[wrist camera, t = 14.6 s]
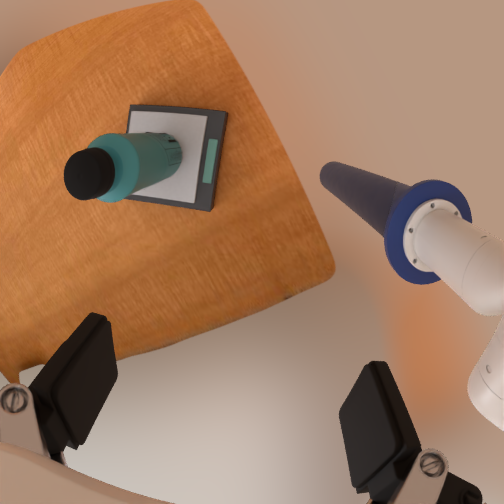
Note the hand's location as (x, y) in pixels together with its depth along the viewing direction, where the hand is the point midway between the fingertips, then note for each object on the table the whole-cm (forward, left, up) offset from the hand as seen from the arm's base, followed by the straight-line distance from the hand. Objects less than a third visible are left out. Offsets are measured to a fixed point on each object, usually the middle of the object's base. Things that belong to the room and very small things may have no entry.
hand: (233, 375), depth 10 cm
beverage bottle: (+13, -4, -31) cm, 34 cm away
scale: (+13, -4, -34) cm, 37 cm away
